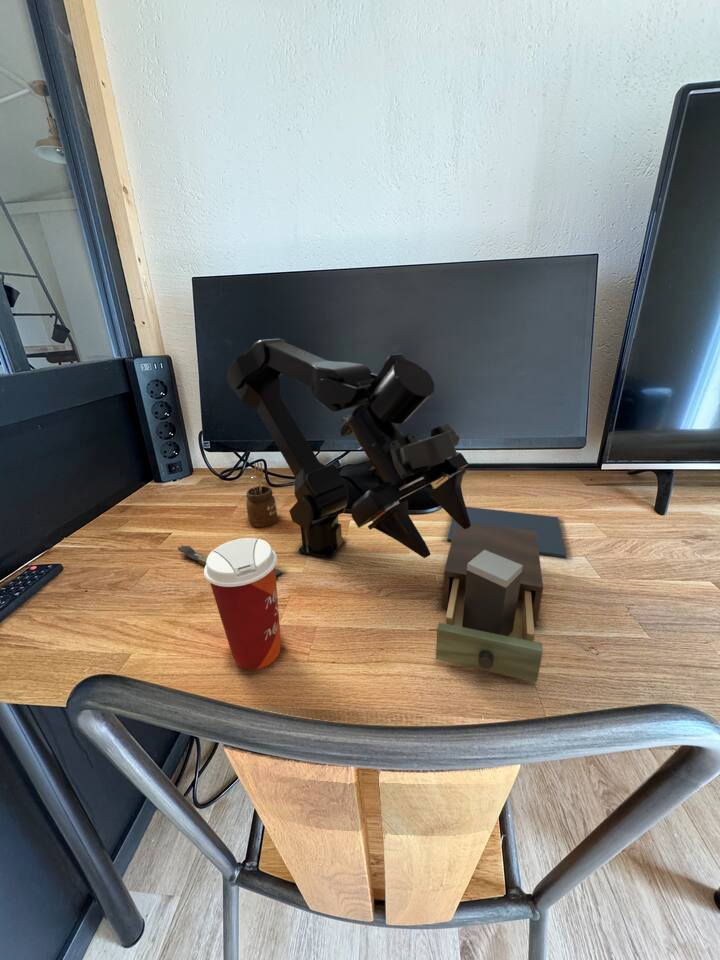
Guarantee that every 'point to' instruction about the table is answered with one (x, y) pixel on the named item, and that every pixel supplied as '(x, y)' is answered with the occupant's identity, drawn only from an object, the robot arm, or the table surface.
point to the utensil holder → (260, 503)
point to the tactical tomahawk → (201, 558)
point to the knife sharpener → (491, 593)
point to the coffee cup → (247, 599)
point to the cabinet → (500, 542)
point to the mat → (521, 527)
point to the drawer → (490, 640)
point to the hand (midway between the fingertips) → (449, 541)
